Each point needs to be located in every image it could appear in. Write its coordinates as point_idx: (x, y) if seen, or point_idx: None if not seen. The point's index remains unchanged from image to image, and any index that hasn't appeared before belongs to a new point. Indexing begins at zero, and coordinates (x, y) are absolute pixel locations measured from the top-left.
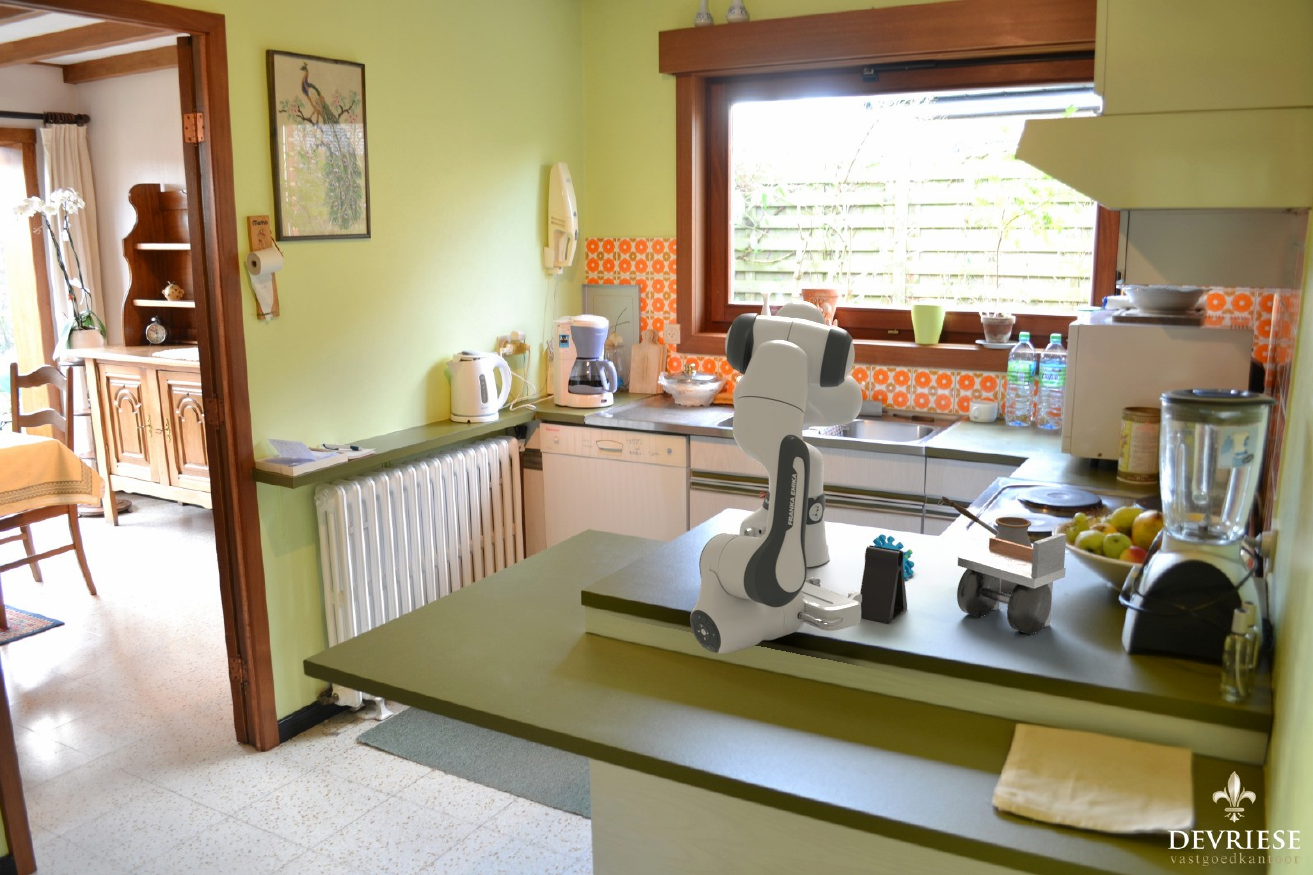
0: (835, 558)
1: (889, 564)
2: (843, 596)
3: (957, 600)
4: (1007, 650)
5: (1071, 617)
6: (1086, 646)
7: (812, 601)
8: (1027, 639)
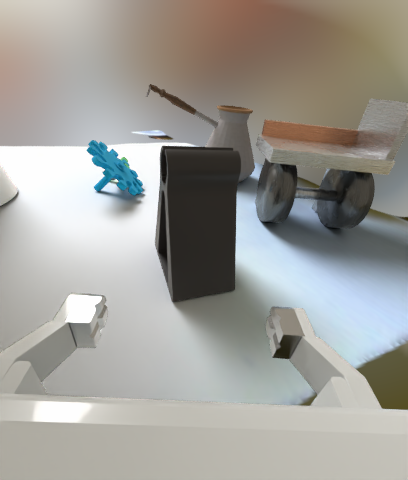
0: (25, 185)
1: (222, 182)
2: (399, 427)
3: (270, 211)
4: (383, 264)
5: None
6: (380, 223)
7: None
8: (351, 235)
